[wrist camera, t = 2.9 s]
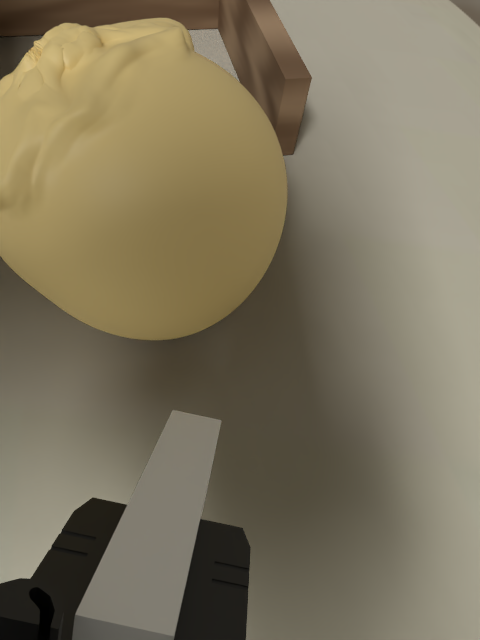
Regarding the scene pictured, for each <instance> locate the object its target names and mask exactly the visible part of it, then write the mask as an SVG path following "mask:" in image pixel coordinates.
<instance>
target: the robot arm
mask: <svg viewBox="0 0 480 640" xmlns="http://www.w3.org/2000/svg"><path fill="white" fill-rule="evenodd" d="M221 421H222V420H219V419H214V418H209V417H204V416H200V415H195V414H190V413H185V412H181V411H176V410H172V412H171V414H170V416H169V419H168V421H167V423H166V425H165V427H164V429H163V431H162V433H161V435H160V437H159V440H158V442H157V444H156V446H155V448H154V450H153V452H152V454H151V456H150V458H149V460H148V463H147V465H146V467H145V469H144V471H143V473H142V475H141V477H140V479H139V481H138V484H137V486H136V488H135V490H134V492H133V494H132V496H131V498H130V500H129V502H128V505H125V504H120V503H116V502H111V501H106V500H102V499H97V498H92V499H90V500H89V501H87V502H86V503H85V504H83V505H82V506H81V507H79V508H78V509H76V510H75V511H74V512H73V514H72V515H71V517H70V518H69V520H68V521H67V523H66V525H65V526H64V528H63V529H62V532H61V534H59V535H58V537H57V539H56V540H55V542H54V543H53V545H52V547H51V550H49V551H48V553H47V554H46V556H45V557H44V559H43V560H42V562H41V563H40V565H39V567H38V568H37V570H36V571H35V573H34V574H33V576H32V577H31V579H22V578H20V579H16V580H12V581H9V582H5V583H1V584H0V640H246V622H247V603H248V584H249V565H250V545H249V543H248V540H247V538H246V535H245V533H244V531H243V528H240V527H235V526H230V525H226V524H221V523H216V522H212V521H207V520H202V519H201V517H202V513H203V508H204V503H205V499H206V494H207V489H208V484H209V479H210V475H211V470H212V465H213V460H214V455H215V450H216V445H217V441H218V436H219V431H220V426H221Z"/></svg>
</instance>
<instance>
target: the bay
mask: <svg viewBox="0 0 480 640" xmlns="http://www.w3.org/2000/svg"><path fill="white" fill-rule="evenodd" d="M151 18H169V19H172V20H175V21H177V22H179V23H181V24H182V25H183V26H184V27H185V28H186V29H215V28H218V30H219V32H220V35H221V37H222V39H223V42H224V44H225V47H226V49H227V52H228V54H229V56H230V59H231V61H232V64H233V66H234V68H235V71H236V73H237V76H238V78H239V81H240V83H241V84H242V85H243V86H244V87H245V88H246V89H247V90H248V91H249V93H250V94H251V95H252V96H253V97H254V98H255V100H256V101H257V102H258V104H259V105H260V106H261V108H262V109H263V111H264V112H265V114H266V115H267V117H268V119H269V121H270V123H271V125H272V127H273V129H274V131H275V133H276V136H277V138H278V141H279V144H280V147H281V150H282V154H283V155H290V154H293V152H294V148H295V144H296V140H297V136H298V132H299V128H300V124H301V120H302V116H303V111H304V107H305V103H306V99H307V95H308V91H309V87H310V83H311V79H312V77H311V75H310V73H309V71H308V70H307V68H306V66H305V64H304V62H303V60H302V59H301V57H300V55H299V53H298V51H297V49H296V48H295V46H294V44H293V42H292V40H291V39H290V37H289V35H288V33H287V31H286V29H285V28H284V26H283V24H282V22H281V20H280V18H279V17H278V15H277V13H276V11H275V9H274V7H273V6H272V4H271V2H270V0H0V36H24V35H45V33H46V32H48V31H49V30H51V29H52V28H54V27H56V26H59V25H60V24H63V23H71V24H72V23H77V24H79V25H81V26H84V25H86V26H88V27H92V28H93V27H96V26H102V25H112V24H116V23H121V22H127V21H134V20H142V19H151Z"/></svg>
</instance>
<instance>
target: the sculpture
mask: <svg viewBox="0 0 480 640" xmlns="http://www.w3.org/2000/svg"><path fill="white" fill-rule="evenodd" d="M286 209H287V176H286V168H285V163H284V158H283V154H282V150H281V147H280V144H279V141H278V138H277V136H276V133H275V131H274V129H273V127H272V125H271V123H270V121H269V119H268V117H267V115H266V114H265V112H264V111H263V109H262V108H261V106H260V105H259V104H258V102H257V101H256V100H255V98H254V97H253V96H252V95H251V94H250V93H249V91H248V90H247V89H246V88H245V87H244V86H243V85H242V84H241V83H240V82H239V81H238V80H236V79H235V78H234V77H233V76H232V75H231V74H229V73H228V72H227V71H226V70H224V69H223V68H221V67H220V66H218V65H217V64H215V63H214V62H212V61H211V60H209V59H207V58H205V57H203V56H202V55H200V54H198V53H196V52H194V46H193V43H192V39H191V36H190V34H189V32H188V30H187V29H186V28H185V27H184V26H183V25H182V24H181V23H179V22H177V21H175V20H172V19H169V18H151V19H142V20H134V21H127V22H121V23H116V24H112V25H102V26H96V27H93V28H92V27H88V26H86V25H84V26H81V25H79V24H77V23H72V24H71V23H63V24H60V25H59V26H56V27H54V28H52V29H51V30H49V31H48V32H46V33H45V35H44V36H43V37H42V38H41V39H40V40H37V41H34V46H33V47H32V48H31V50H29V52H27V53H26V54H25V56H24V57H23V58H22V60H21V61H20V63H19V65H18V66H17V68H16V69H15V70H14V71H13V72H12V73H10V74H8V75H6V76H5V77H3V78H2V79H1V80H0V256H1V258H2V259H3V260H4V261H5V262H6V263H7V265H8V266H9V267H10V268H11V269H12V270H13V271H14V272H15V273H16V274H18V275H19V276H20V277H21V278H22V279H23V280H24V281H26V282H27V283H28V284H29V285H30V286H32V287H33V288H34V289H36V290H37V291H38V292H39V293H41V294H42V295H43V296H45V297H46V298H47V299H49V300H50V301H51V302H53V303H54V304H55V305H57V306H58V307H59V308H61V309H62V310H64V311H65V312H66V313H68V314H69V315H71V316H73V317H74V318H76V319H78V320H80V321H81V322H83V323H85V324H87V325H89V326H91V327H94V328H96V329H99V330H101V331H104V332H107V333H110V334H113V335H117V336H121V337H126V338H131V339H139V340H168V339H175V338H180V337H184V336H188V335H191V334H194V333H197V332H199V331H202V330H204V329H206V328H208V327H210V326H212V325H214V324H215V323H217V322H219V321H220V320H222V319H223V318H225V317H226V316H227V315H229V314H230V313H231V312H232V311H234V310H235V309H236V308H237V307H238V306H239V305H240V304H241V303H242V302H243V301H244V300H245V299H246V298H247V297H248V296H249V295H250V294H251V292H252V291H253V290H254V289H255V287H256V286H257V285H258V283H259V282H260V280H261V279H262V277H263V276H264V274H265V272H266V271H267V269H268V267H269V265H270V263H271V261H272V259H273V257H274V254H275V252H276V249H277V247H278V244H279V241H280V238H281V234H282V231H283V227H284V222H285V216H286Z"/></svg>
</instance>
